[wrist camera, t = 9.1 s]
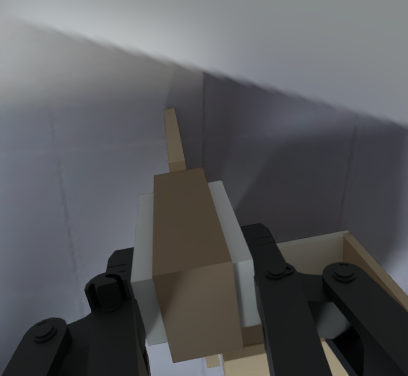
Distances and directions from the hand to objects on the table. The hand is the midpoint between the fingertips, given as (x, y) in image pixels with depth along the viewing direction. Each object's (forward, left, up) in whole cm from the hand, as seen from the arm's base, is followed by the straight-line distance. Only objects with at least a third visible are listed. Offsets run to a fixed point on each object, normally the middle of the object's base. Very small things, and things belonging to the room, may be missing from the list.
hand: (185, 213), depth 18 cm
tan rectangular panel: (0, -5, -13) cm, 14 cm away
